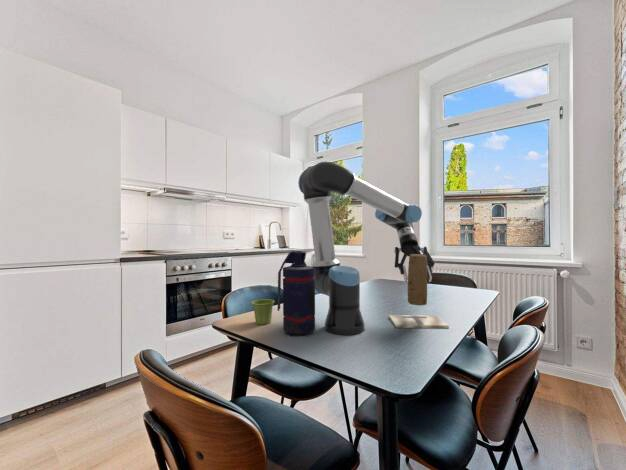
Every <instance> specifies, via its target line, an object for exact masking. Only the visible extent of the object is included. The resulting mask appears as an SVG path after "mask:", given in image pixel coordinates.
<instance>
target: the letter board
mask: <svg viewBox="0 0 626 470" xmlns="http://www.w3.org/2000/svg"><path fill="white" fill-rule="evenodd" d="M388 318H389V319H390V321H391V323H392V324H393V325H394V327H395V328H404V329H405V328H406V329H410V328H411V329H414V328H415V329H449V328H450V325H449V324H448V323H446V321H444V320H442V319H441V318H440V317H439V316H437V315H432V314H431V315H430V314H429V315H424V314H423V315H421V314H419V315H417V314H415V315H413V314H412V315H411V314H407V315H406V314H405V315H404V314H401V315H399V314H389V315H388Z"/></svg>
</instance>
